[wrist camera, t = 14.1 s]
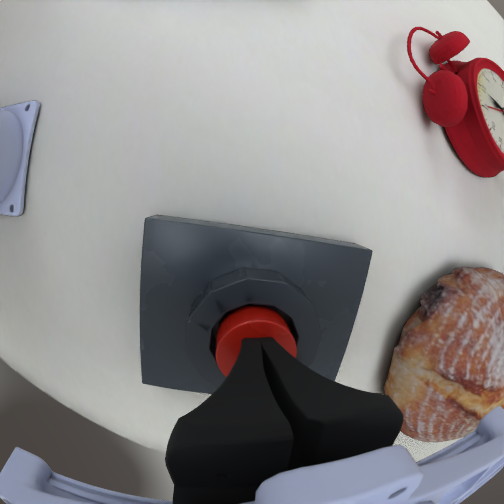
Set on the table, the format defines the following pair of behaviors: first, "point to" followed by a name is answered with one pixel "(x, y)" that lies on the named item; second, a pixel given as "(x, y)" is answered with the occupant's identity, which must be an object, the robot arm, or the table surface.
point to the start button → (250, 333)
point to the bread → (451, 357)
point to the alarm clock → (466, 102)
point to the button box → (241, 295)
